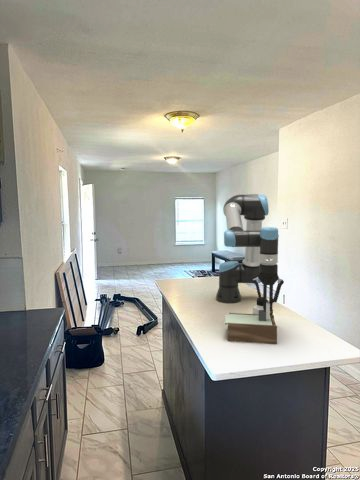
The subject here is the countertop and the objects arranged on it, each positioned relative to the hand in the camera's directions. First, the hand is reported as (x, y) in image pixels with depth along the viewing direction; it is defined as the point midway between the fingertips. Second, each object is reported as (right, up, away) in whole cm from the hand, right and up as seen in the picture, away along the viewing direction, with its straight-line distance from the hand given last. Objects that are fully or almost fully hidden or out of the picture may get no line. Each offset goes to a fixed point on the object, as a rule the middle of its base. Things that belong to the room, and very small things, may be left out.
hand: (267, 317), depth 139 cm
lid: (-8, -2, +2) cm, 8 cm away
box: (-7, -9, +2) cm, 11 cm away
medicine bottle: (+3, -7, +20) cm, 21 cm away
